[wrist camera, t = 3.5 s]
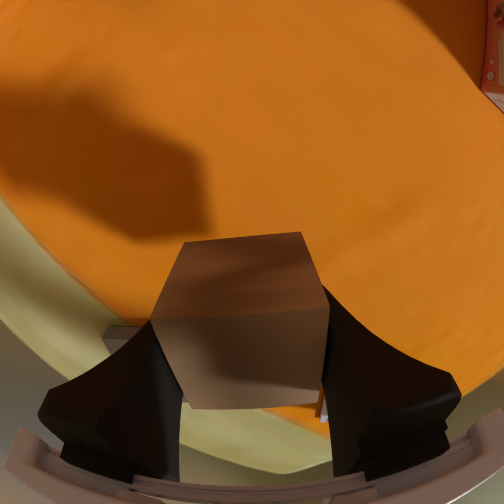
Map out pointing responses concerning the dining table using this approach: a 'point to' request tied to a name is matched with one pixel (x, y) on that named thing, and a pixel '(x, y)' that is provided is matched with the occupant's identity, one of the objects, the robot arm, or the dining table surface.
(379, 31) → the dining table surface
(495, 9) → the cracker box
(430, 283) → the dining table surface
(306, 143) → the dining table surface
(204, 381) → the walnut cube
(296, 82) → the dining table surface
